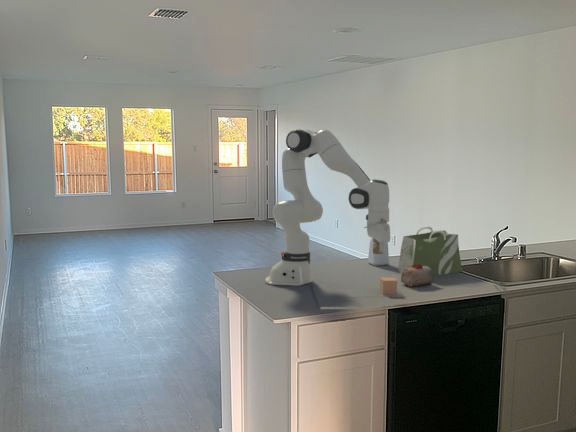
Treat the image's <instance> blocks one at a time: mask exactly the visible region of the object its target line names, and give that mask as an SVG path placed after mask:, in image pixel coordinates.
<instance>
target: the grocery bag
mask: <svg viewBox="0 0 576 432" xmlns="http://www.w3.org/2000/svg"><path fill="white" fill-rule="evenodd" d="M425 229H427V230H430V231H429V232H425V233H420V232H421V231H422V230H425ZM398 261H399V262H398V267H397V273H398V274H400V275H401V272H402V271H404V269H405V268H411V267H412V265H413V264H415V265H419V264H420V265H421V266H428V267H430V268H431V270H432V277H433V276H442V275H446V274H447V275H449V274H455V273H456V274H458V273H464V272H463V268H462V267H463V266H462V261H461V254H460V247H459V234H455V233H448V232H447V231H446V230H433V228H432V227H430V226H426V227H420V228H419V229H418V230H417V232H416V234H412V235H411V234H410V235H405V236H403V237H402V242H401V247H400V255H399V260H398Z"/></svg>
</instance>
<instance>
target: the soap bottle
mask: <svg viewBox="0 0 576 432" xmlns="http://www.w3.org/2000/svg"><path fill="white" fill-rule="evenodd" d="M364 229H367V226H365V227H364ZM378 242H379V241H378ZM368 246H369V247H368V254H367V255H368V257H367V263H368V264H370V265H373V266H376V267H377V266H389V264H390V257H389V256H390V254H389V242H385V245H384V254H373V241H372V238H370V239H369V245H368Z"/></svg>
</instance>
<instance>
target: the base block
mask: <svg viewBox="0 0 576 432" xmlns="http://www.w3.org/2000/svg"><path fill="white" fill-rule="evenodd" d="M379 280H380V281H379V289H380V291H381V293H382V294H397V288H398V280H397V279H396V278H395V277H393V276H392V277H390V276H389V277H387V276H386V277H380V278H379Z"/></svg>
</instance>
